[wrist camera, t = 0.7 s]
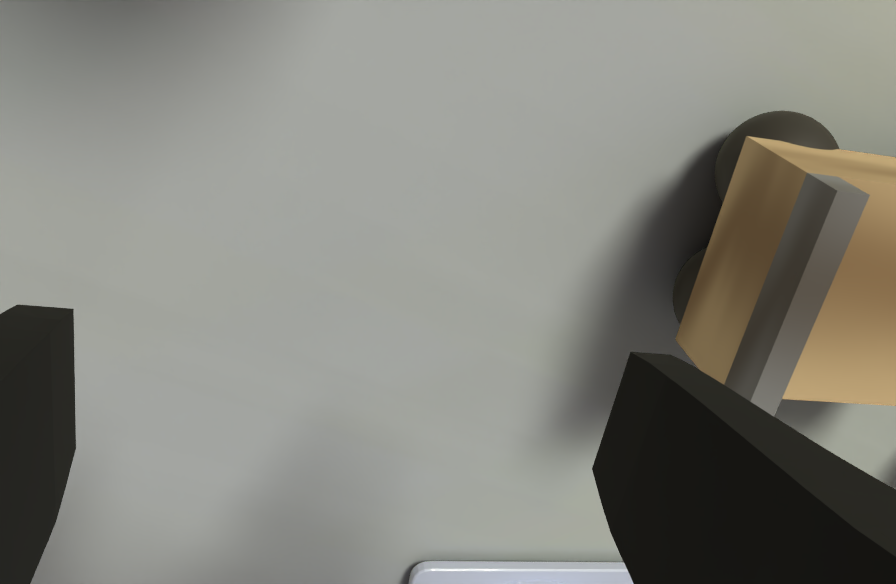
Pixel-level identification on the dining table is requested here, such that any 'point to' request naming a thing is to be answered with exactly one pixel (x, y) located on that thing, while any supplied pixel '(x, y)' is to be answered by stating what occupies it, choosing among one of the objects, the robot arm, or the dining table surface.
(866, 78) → the dining table surface
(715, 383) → the robot arm
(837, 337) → the trolley
